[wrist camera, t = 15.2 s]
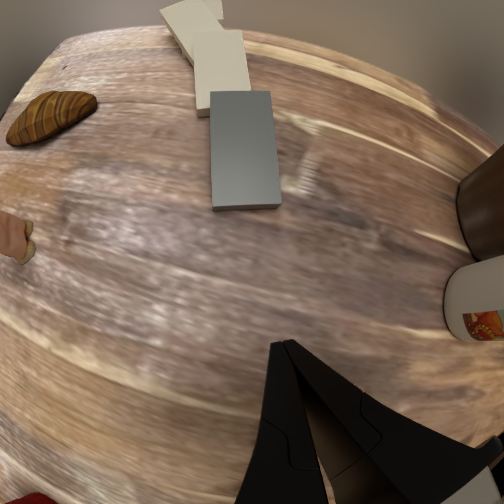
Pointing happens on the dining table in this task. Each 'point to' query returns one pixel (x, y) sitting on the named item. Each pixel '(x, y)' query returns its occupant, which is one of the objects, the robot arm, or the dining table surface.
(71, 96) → the croissant
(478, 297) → the milk bottle
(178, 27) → the domino
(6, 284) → the dining table surface
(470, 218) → the plant pot
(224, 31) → the domino
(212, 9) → the domino
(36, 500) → the plastic cup
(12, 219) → the grandmother figurine
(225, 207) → the end domino
